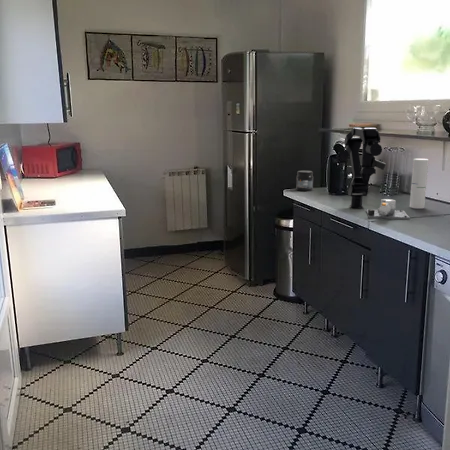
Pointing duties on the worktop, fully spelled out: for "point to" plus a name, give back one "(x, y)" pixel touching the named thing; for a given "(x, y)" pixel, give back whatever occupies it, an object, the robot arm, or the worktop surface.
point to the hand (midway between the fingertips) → (366, 186)
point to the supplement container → (304, 181)
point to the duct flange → (397, 215)
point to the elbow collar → (386, 207)
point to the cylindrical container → (419, 183)
